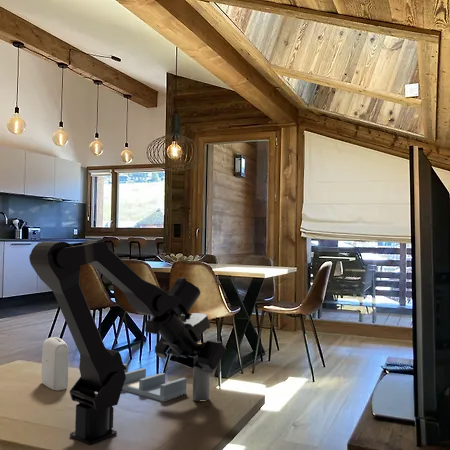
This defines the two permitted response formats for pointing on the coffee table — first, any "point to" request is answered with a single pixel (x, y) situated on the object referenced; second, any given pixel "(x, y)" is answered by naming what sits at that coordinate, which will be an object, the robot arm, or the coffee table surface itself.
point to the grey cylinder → (200, 383)
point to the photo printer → (55, 363)
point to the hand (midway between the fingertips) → (205, 370)
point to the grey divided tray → (153, 385)
